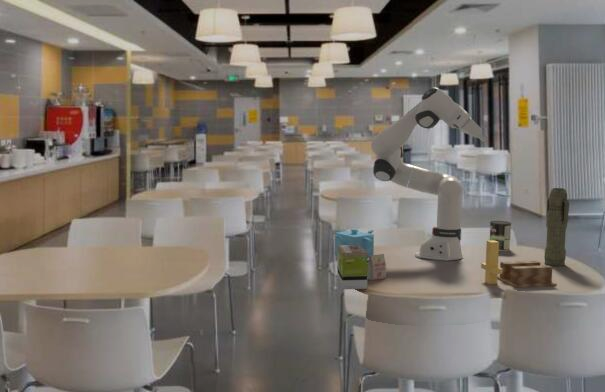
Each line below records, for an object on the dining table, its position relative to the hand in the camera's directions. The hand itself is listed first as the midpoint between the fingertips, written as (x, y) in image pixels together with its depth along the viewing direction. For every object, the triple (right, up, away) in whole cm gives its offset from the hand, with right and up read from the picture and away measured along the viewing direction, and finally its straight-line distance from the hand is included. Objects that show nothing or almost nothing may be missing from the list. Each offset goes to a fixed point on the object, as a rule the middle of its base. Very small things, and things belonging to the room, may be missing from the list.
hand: (480, 139), depth 251 cm
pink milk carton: (-43, -58, +1) cm, 72 cm away
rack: (+17, -58, -3) cm, 61 cm away
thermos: (+42, -55, +28) cm, 75 cm away
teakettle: (-50, -54, +36) cm, 82 cm away
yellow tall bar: (+2, -59, -6) cm, 59 cm away
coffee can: (+28, -51, +62) cm, 85 cm away
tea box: (-54, -59, -9) cm, 81 cm away
